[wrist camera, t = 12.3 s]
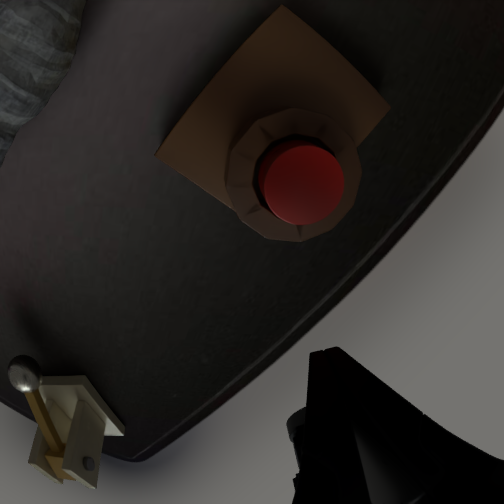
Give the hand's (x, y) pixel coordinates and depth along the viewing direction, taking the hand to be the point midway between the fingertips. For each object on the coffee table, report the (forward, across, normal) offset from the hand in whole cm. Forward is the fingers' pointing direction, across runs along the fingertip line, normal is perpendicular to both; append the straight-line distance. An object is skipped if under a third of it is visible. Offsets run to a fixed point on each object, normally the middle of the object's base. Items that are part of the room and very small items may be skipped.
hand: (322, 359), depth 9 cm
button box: (+12, -1, -5) cm, 13 cm away
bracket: (+12, +21, +16) cm, 29 cm away
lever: (+8, +21, +13) cm, 26 cm away
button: (+9, -2, -3) cm, 9 cm away
